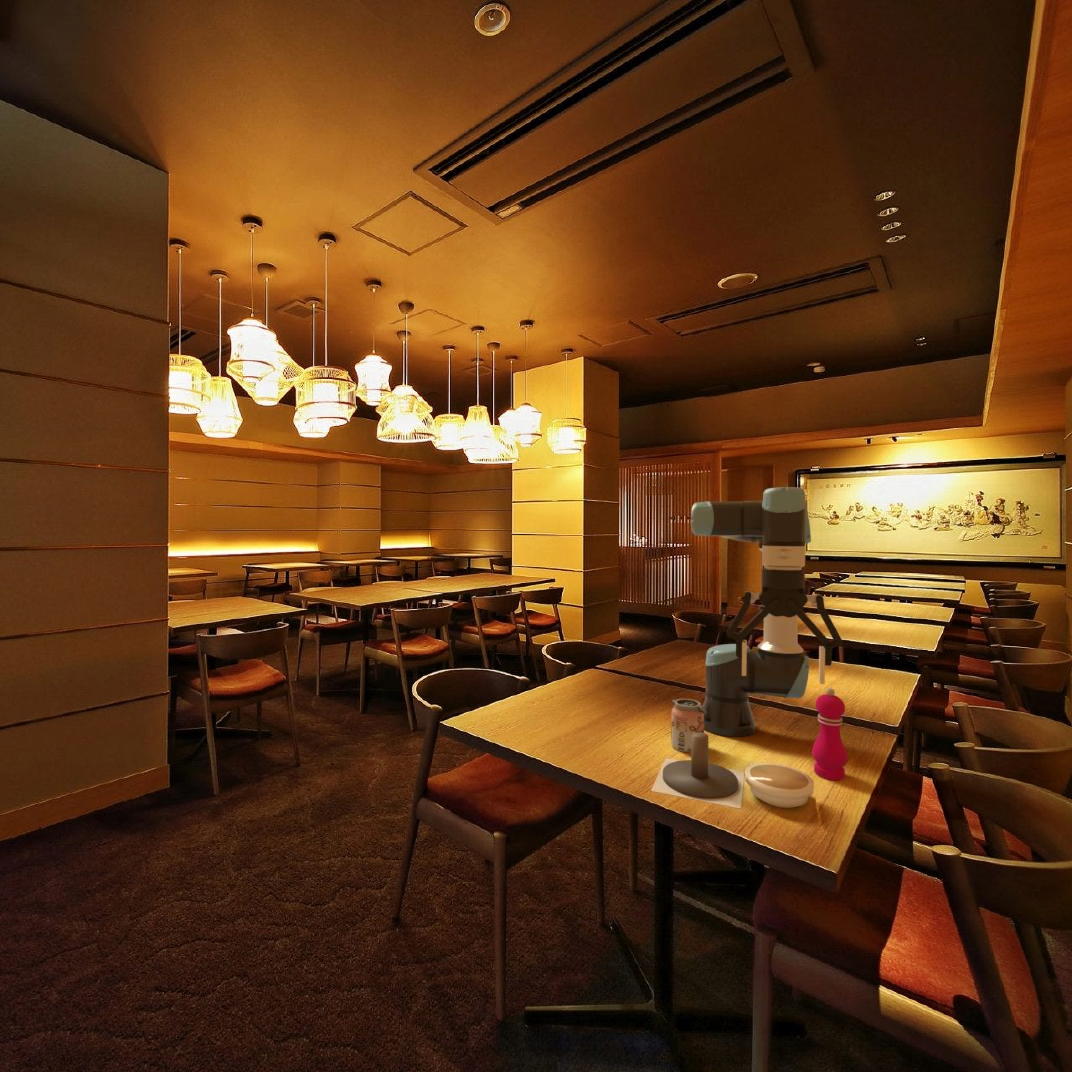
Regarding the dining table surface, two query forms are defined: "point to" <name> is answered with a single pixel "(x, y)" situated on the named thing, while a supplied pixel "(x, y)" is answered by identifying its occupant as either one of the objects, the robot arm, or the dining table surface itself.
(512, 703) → the dining table surface
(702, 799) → the mat
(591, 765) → the dining table surface
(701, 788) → the lid
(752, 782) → the bowl
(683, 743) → the beverage can
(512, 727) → the dining table surface
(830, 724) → the pepper mill
